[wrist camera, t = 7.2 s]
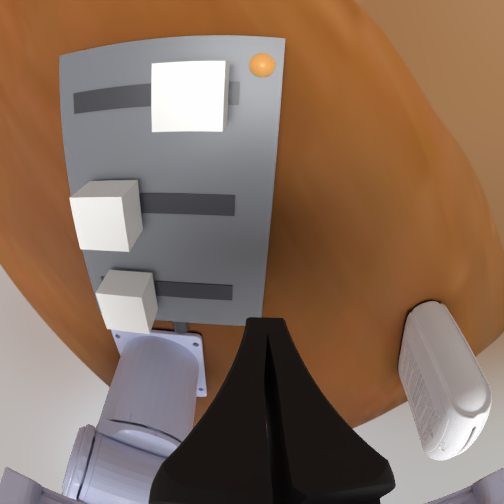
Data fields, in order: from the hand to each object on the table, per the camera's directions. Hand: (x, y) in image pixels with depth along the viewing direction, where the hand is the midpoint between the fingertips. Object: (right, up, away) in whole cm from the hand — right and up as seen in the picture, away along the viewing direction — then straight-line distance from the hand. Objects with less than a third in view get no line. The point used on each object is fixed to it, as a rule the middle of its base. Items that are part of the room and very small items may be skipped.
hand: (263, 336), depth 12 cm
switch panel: (-5, +7, +7) cm, 11 cm away
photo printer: (+15, -5, +14) cm, 22 cm away
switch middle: (-8, +6, +5) cm, 11 cm away
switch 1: (-8, +1, +8) cm, 11 cm away
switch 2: (-3, +11, +2) cm, 11 cm away
